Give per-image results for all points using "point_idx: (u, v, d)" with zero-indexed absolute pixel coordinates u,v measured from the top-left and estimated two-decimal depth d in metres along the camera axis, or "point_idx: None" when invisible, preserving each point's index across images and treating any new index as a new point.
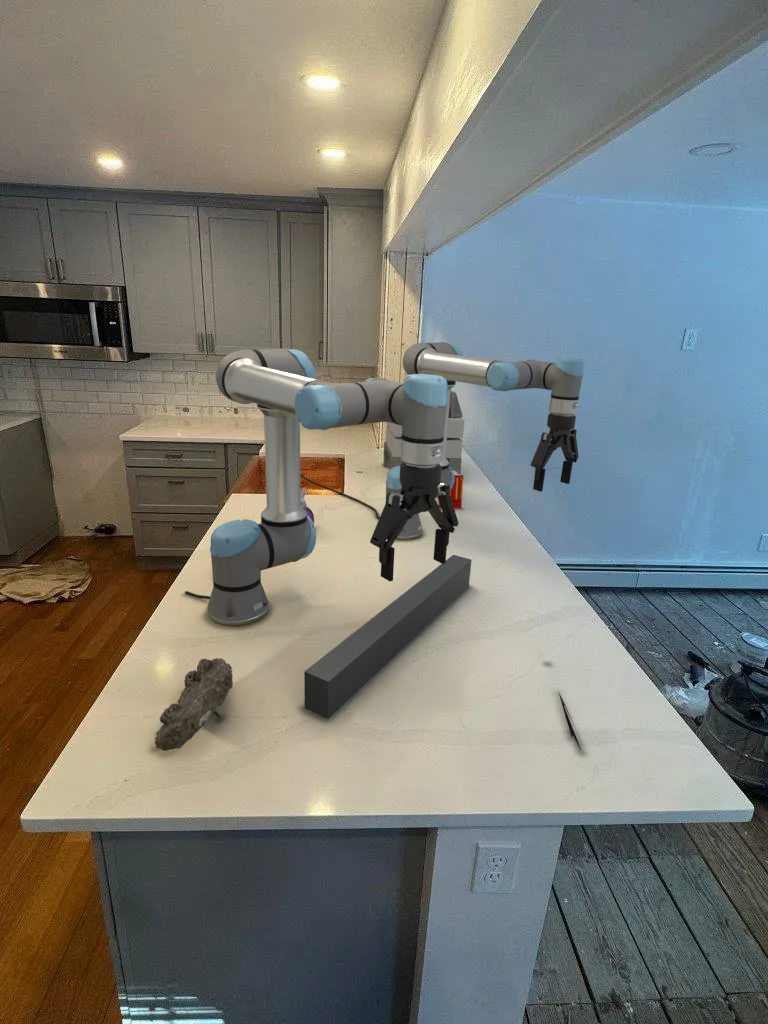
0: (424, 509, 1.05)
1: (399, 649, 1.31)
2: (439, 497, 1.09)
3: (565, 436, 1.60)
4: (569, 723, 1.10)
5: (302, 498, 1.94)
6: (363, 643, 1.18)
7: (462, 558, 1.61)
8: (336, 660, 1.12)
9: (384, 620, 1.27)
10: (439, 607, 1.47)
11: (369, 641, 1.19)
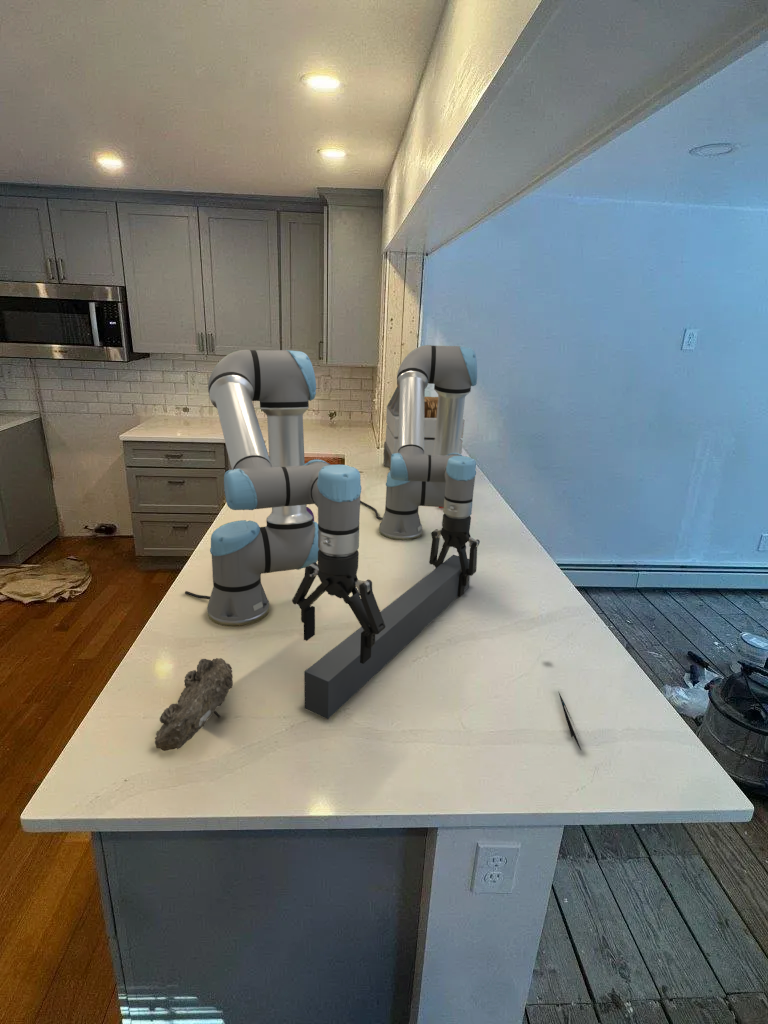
0: (337, 594, 1.06)
1: (399, 649, 1.31)
2: None
3: (455, 537, 1.52)
4: (569, 723, 1.10)
5: None
6: None
7: None
8: (336, 660, 1.12)
9: (384, 620, 1.27)
10: (439, 607, 1.47)
11: None
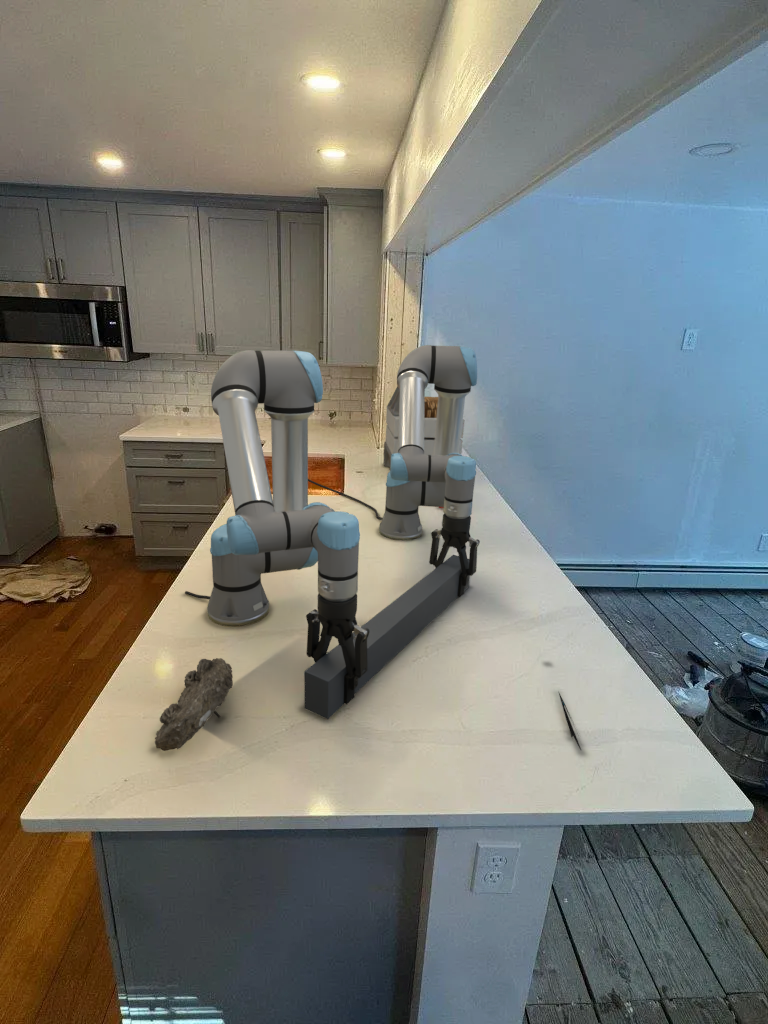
0: (336, 636, 1.09)
1: (399, 649, 1.31)
2: None
3: (455, 537, 1.52)
4: (569, 723, 1.10)
5: None
6: None
7: None
8: (336, 660, 1.12)
9: (384, 620, 1.27)
10: (439, 607, 1.47)
11: (369, 641, 1.19)
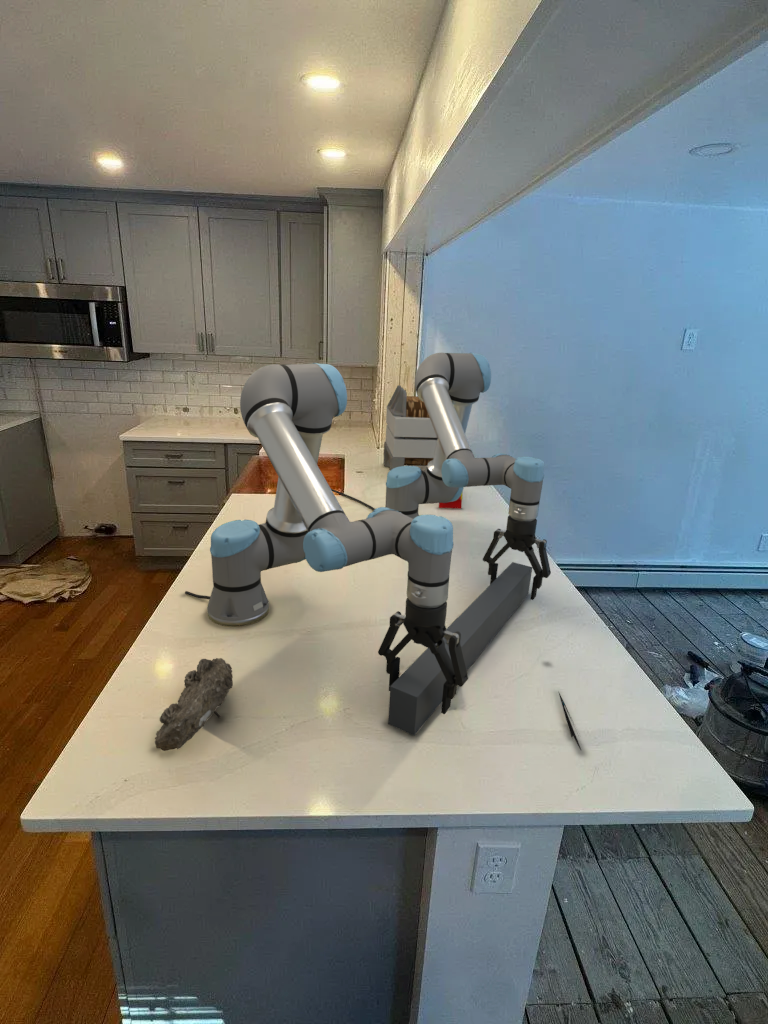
0: (423, 643, 1.05)
1: (472, 661, 1.28)
2: None
3: (520, 541, 1.48)
4: (569, 723, 1.10)
5: None
6: None
7: (523, 566, 1.58)
8: (420, 674, 1.09)
9: (459, 631, 1.24)
10: (505, 616, 1.44)
11: (449, 654, 1.16)
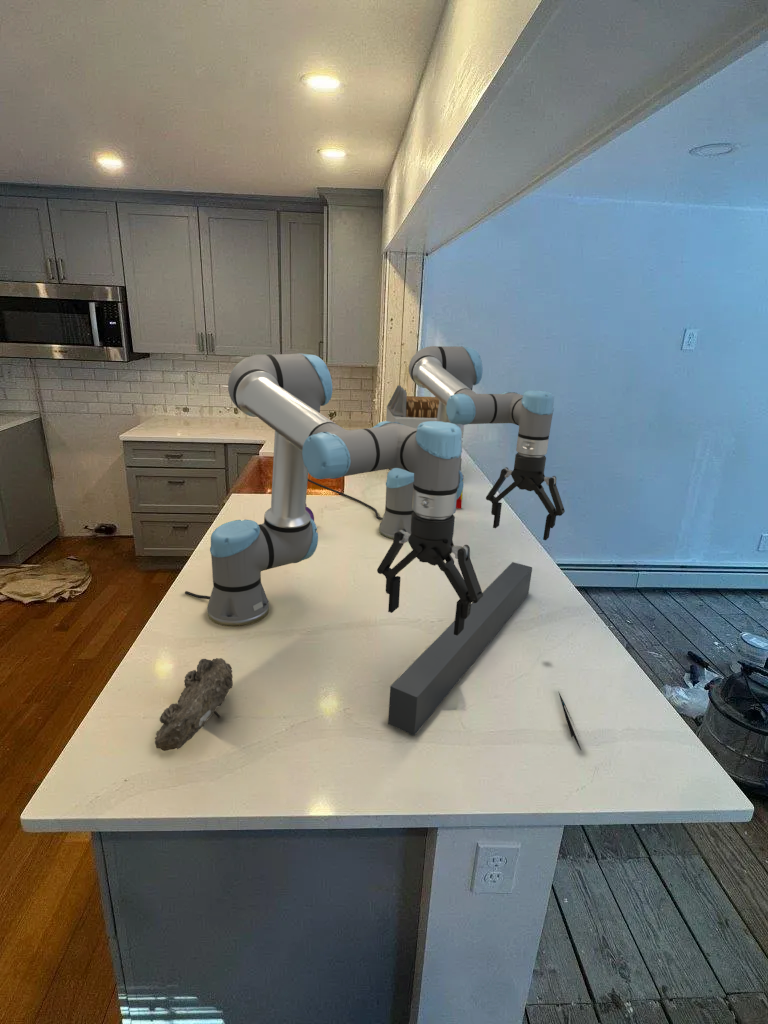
0: (430, 561, 1.00)
1: (472, 661, 1.28)
2: None
3: (528, 479, 1.43)
4: (569, 723, 1.10)
5: None
6: (443, 656, 1.15)
7: (523, 566, 1.58)
8: (420, 674, 1.09)
9: None
10: (505, 616, 1.44)
11: (449, 654, 1.16)
